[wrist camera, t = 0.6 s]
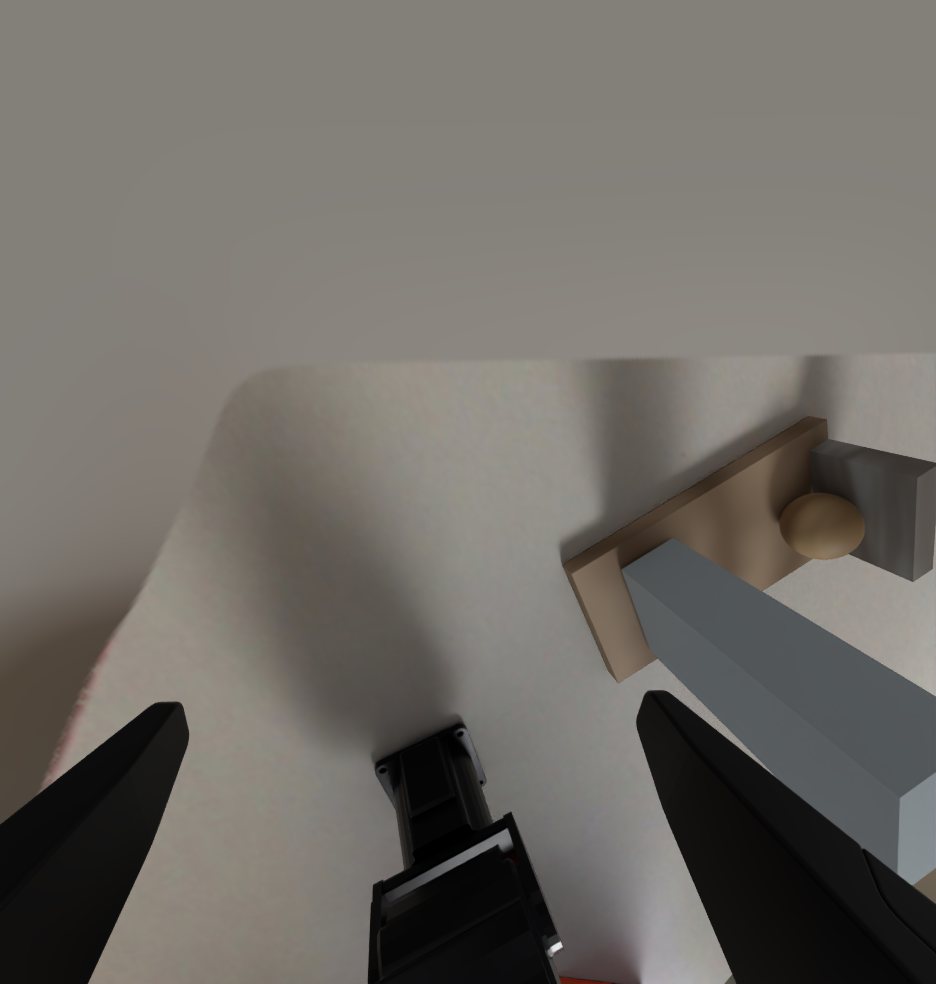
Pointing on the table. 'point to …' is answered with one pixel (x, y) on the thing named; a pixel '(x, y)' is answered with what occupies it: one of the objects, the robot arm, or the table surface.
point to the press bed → (760, 527)
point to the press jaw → (799, 702)
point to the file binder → (579, 981)
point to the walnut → (822, 526)
